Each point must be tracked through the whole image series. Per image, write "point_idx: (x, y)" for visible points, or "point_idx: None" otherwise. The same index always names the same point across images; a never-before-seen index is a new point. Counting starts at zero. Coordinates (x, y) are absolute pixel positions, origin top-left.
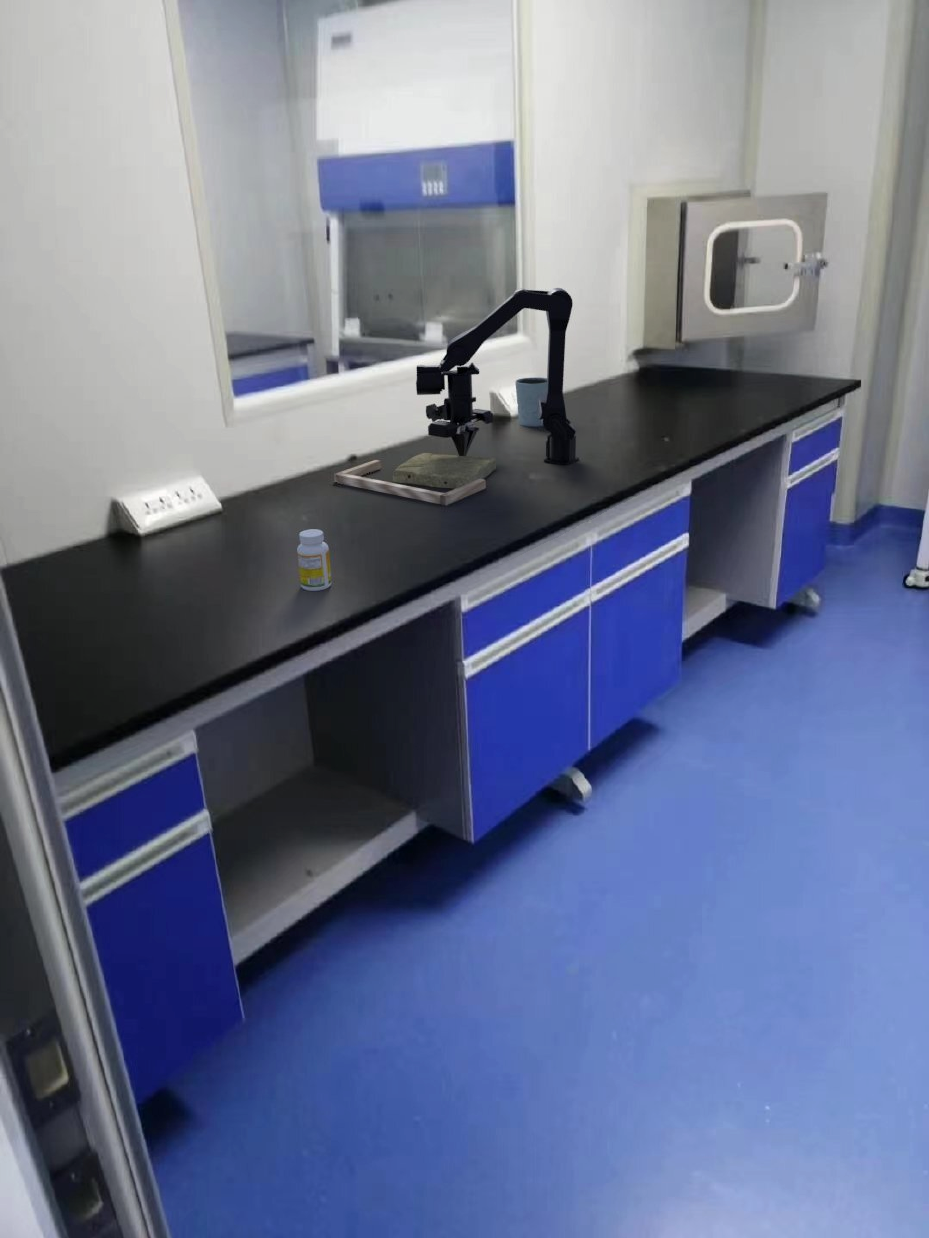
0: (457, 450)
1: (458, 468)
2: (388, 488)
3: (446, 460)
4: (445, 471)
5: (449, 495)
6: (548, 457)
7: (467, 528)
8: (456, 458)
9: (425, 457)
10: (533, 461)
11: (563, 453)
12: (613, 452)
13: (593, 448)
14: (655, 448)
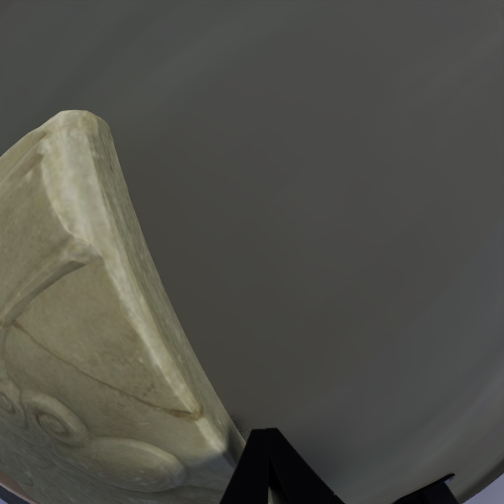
0: (234, 474)
1: (64, 502)
2: None
3: (62, 457)
4: (14, 475)
5: (1, 485)
6: (414, 501)
7: (11, 496)
8: (131, 485)
9: None
10: (404, 487)
11: None
12: (473, 478)
13: (500, 448)
14: (487, 477)
